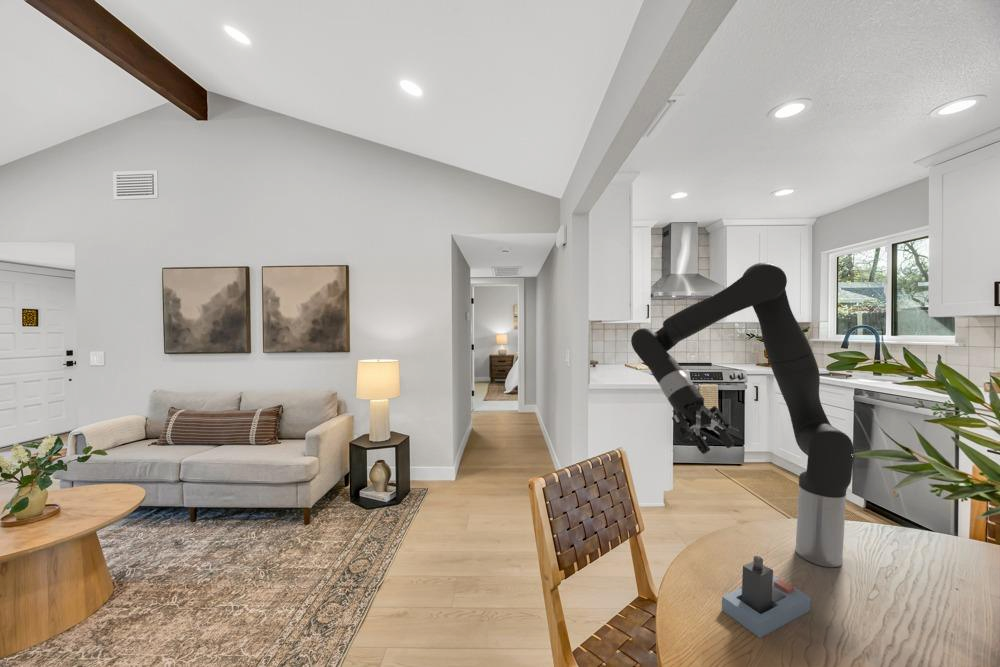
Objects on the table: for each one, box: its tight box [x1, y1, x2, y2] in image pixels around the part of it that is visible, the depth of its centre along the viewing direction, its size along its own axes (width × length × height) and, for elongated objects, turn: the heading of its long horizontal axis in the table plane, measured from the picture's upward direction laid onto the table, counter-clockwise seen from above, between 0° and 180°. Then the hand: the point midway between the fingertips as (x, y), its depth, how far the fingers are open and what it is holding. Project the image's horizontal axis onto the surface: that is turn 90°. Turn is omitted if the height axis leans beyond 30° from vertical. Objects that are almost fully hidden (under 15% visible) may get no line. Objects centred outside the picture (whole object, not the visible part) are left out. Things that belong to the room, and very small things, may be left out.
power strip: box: [721, 574, 812, 639], centre depth 86 cm, size 16×8×4 cm, turn 115°
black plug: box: [741, 555, 774, 614], centre depth 85 cm, size 4×4×12 cm
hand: (719, 449), depth 99 cm, fingers open, 8 cm apart
